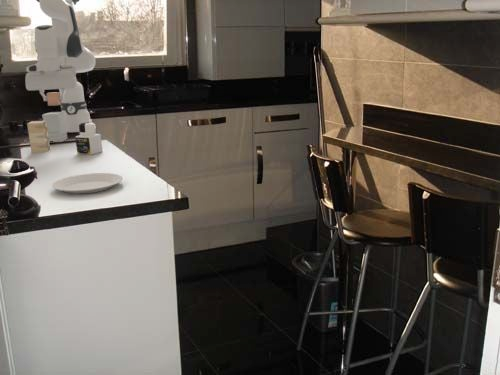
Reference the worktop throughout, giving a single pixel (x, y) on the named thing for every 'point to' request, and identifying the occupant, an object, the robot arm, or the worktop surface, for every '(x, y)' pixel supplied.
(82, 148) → the medicine bottle
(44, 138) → the tower mid
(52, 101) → the pink rounded cylinder
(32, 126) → the tower top
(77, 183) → the plate
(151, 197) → the worktop surface
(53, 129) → the supplement box
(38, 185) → the worktop surface
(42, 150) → the tower base
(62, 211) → the worktop surface
